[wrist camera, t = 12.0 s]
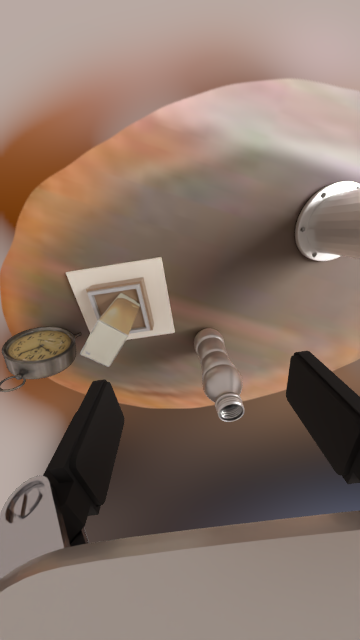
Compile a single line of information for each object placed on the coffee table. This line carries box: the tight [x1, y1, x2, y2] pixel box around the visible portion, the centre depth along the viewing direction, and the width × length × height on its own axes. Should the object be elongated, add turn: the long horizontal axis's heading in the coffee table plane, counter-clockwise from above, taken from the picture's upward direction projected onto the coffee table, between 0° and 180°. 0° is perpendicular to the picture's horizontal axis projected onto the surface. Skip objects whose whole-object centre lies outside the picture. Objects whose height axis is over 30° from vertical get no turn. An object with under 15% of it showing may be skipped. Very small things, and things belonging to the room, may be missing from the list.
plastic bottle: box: [194, 328, 244, 422], centre depth 35 cm, size 6×7×20 cm
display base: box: [66, 257, 175, 340], centre depth 38 cm, size 18×16×5 cm
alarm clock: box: [0, 327, 81, 392], centre depth 35 cm, size 11×5×16 cm, turn 79°
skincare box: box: [80, 293, 140, 367], centre depth 31 cm, size 6×4×12 cm
